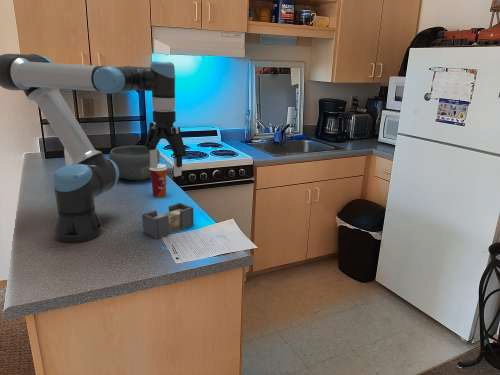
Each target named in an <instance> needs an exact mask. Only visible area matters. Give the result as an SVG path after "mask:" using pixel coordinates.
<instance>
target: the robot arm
mask: <svg viewBox="0 0 500 375" xmlns="http://www.w3.org/2000/svg"><path fill="white" fill-rule="evenodd" d="M175 70H176V69H175V64H174V63H173V62H171V61H157V60H156V61H155V60H154V61H151V63H150V66H149V67H146V66H145V67H143V66H133V65H132V66H131V65H120V66H112V65H111V66H109V65H108V66H107V65H90V64H89V65H88V64H76V63H75V64H73V63H59V62H58V63H57V62H56V63H55V62H54V61H53V60H51V59H50V58H49V57H47V56H44V55H39V54H36V53H30V54H28V53H27V54H24V53H23V54H22V53H3V54H1V55H0V87H1V88H3V89H5V90H9V91H22V92H24V95H25V96H26V97H27V99H28V101H29V100H30V101H34V103H36V104H37V106H38V108H39V109H40V111H41V112H42V114H43V116H44V117H45V119H46V120H47V122H48V124H49V125H50V127H51V129H53V132H54V133H55V136H57V138H58V140H59V141H60V142H61V145H62V147H64V150H65V149H66V151H67V152H68V154H69V155H70V157H71V159H72V160H73V164H72V165H70V166H66V165H65V166H62V167H60V168H59V169H57V170H56V171H55V172H54V173H53V188H54V194H55V202H56V208H57V220H56V222H55V223H56V224H55V227H54V237H55V239H56V241H59V242H61V243H67V244H68V243H71V244H72V243H74V244H75V243H81V242H82V243H83V242H86V241H87V242H88V241H91V240H93V239H95V238H97V237H99V236H100V235H101V234H102V233H103V222H102V221H101V219H100V217H99V216H98V213H97V212H96V205H95V198H96V197H99V196H100V195H102V194H104V193H106V192H108V191H111V190H112V189H113V188H114V187H115V186H116V185H117V184H118V182H119V178H120V177H119V169H118V167H117V165H116V164H115V163H114V162H113V161H112V160H109V158H107V157H105V154H104V153H103V152H102V151H100V150H96V149H95V148H94V146H93V144H92V142H91V140H90V139H89V138H88V136H87V134H86V132H85V131H84V129H83V128H82V126H81V124H80V123H79V121H78V120H77V117H76V116H75V115H74V113H73V111H72V110H71V108H70V107H69V105H68V103H67V102H66V100H65V98H64V97H63V95H62V93H61V92H60V90H75V91H89V92H101V93H104V94H109V95H110V94H113V95H114V94H118V93H123V92H124V93H125V92H132V91H133V92H134V91H146V92H151V108H152V110H153V111H152V121H151V122H149V129H148V132H147V136H146V139H145V143H144V146H145V147H148V149H149V157H150V168H155V167H158V161H157V149H158V148H157V146H158V145H159V143H160V141H161V140H162V139H165V140H166V142H167V143H168V144H169V147H170V149H171V151H172V153H173V155H174V156H173V177H179V176H182V174H183V173H182V167H183V158H184V157H187V156H188V155H187V151H186V148H185V144H184V141H183V137H182V134H181V127H180V126H176V127H174V124H175V122H176V118H177V117H176V111H175V110H176V71H175Z"/></svg>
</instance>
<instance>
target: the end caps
mask: <svg viewBox="0 0 500 375" xmlns="http://www.w3.org/2000/svg"><path fill="white" fill-rule="evenodd" d="M177 209H182V210H181V211H180V227H178V228H175V229H172V230H170V231H169V217H168V216H167V215H166V216H163V217H160V218H157V219H155V218H153V217H156V216H158V211H157V210H152V211H149V212H146V213H143V214H141V215H142V216H141V217H142V231H143V234H144V235H147V236H148V237H151V238H153V239H155V240H158V239H161V238H164V237H165V236H168V235H171V234H174V233H176V232H178V231H182V230H184V229H187V228H189V227H193V226H194V224H195V222H194V221H195V217H194V214H195V213H194V212H195V211H194V207H193V206H190V205H188V204H185V203H183V202H177V203H175V204H171V205H168V212H171V211H174V210H177Z"/></svg>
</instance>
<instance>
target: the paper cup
mask: <svg viewBox="0 0 500 375" xmlns="http://www.w3.org/2000/svg"><path fill="white" fill-rule="evenodd" d="M149 169H150V172H151V177H150V179H151V187H152V196H153V197H154V198H164V197H166V196H167V169H168V167H167V164H164V163H159V164H158V167H155V168H149Z"/></svg>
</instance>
